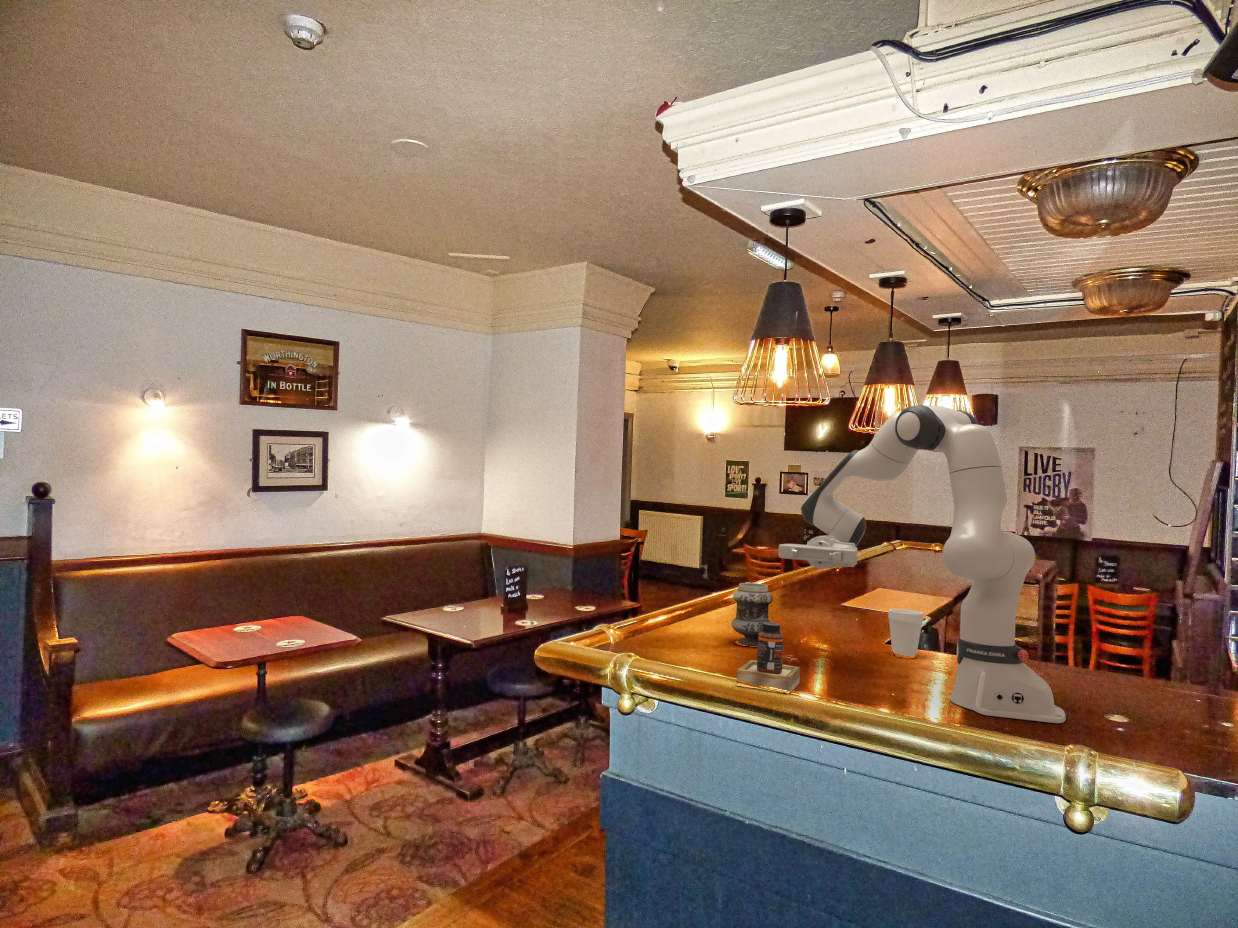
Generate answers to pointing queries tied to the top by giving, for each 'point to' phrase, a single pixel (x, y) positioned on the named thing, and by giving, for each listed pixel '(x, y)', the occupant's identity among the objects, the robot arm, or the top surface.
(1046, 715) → the robot arm
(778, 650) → the supplement bottle
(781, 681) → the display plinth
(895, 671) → the top surface
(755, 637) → the apothecary jar
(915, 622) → the foam cup
